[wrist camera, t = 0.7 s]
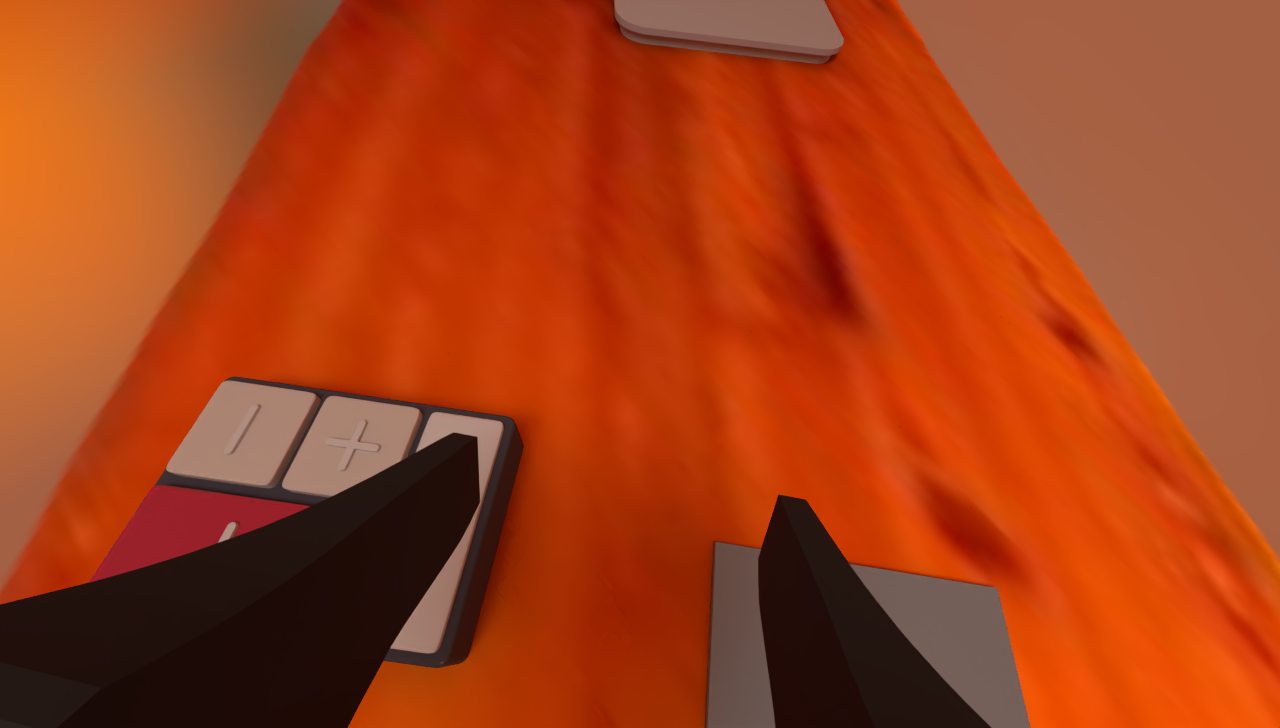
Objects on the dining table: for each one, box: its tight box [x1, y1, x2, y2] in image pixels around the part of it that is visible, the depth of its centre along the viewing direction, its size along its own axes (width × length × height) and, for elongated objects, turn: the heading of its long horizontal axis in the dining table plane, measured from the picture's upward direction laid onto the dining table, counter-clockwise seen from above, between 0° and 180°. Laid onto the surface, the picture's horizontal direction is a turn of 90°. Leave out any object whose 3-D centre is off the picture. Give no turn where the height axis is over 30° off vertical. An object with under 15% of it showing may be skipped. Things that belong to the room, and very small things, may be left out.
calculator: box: [90, 377, 523, 668], centre depth 22 cm, size 11×4×15 cm
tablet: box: [614, 0, 844, 64], centre depth 55 cm, size 16×26×2 cm, turn 93°
